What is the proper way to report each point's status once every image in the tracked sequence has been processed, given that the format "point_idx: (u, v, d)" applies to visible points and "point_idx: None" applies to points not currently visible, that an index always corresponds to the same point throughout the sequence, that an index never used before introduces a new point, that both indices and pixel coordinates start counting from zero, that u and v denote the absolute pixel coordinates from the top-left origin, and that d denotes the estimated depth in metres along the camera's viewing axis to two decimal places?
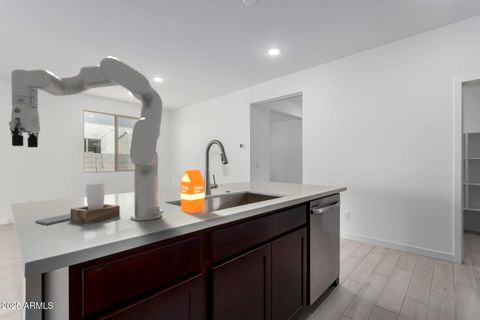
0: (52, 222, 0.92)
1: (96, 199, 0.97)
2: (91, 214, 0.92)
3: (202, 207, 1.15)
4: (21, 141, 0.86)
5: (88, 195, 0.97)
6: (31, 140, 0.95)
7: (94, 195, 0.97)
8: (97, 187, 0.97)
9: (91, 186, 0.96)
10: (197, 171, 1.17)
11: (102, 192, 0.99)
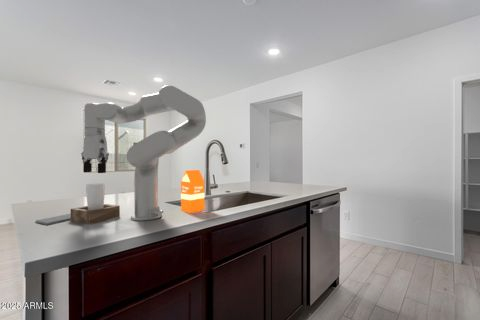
0: (52, 222, 0.92)
1: (96, 199, 0.97)
2: (91, 214, 0.92)
3: (202, 207, 1.15)
4: (105, 168, 0.98)
5: (88, 195, 0.97)
6: (87, 165, 1.01)
7: (94, 195, 0.97)
8: (97, 187, 0.97)
9: (91, 186, 0.96)
10: (197, 171, 1.17)
11: (102, 192, 0.99)
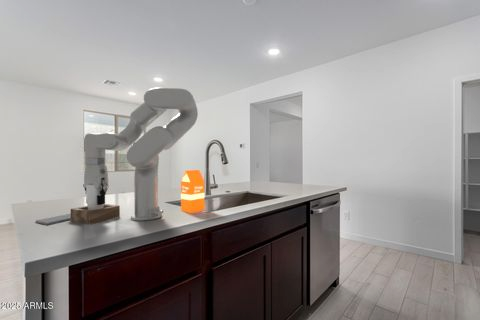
0: (52, 222, 0.92)
1: (96, 199, 0.97)
2: (91, 214, 0.92)
3: (202, 207, 1.15)
4: (104, 200, 0.99)
5: (88, 195, 0.97)
6: None
7: (94, 195, 0.97)
8: None
9: (91, 186, 0.96)
10: (197, 171, 1.17)
11: None
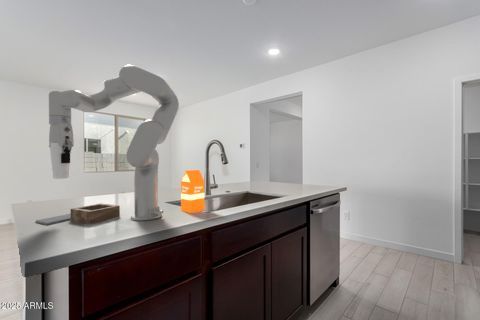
0: (52, 222, 0.92)
1: (60, 157, 0.96)
2: (91, 214, 0.92)
3: (202, 207, 1.15)
4: (69, 159, 0.98)
5: (52, 153, 0.96)
6: None
7: (58, 153, 0.96)
8: None
9: (55, 144, 0.95)
10: (197, 171, 1.17)
11: None
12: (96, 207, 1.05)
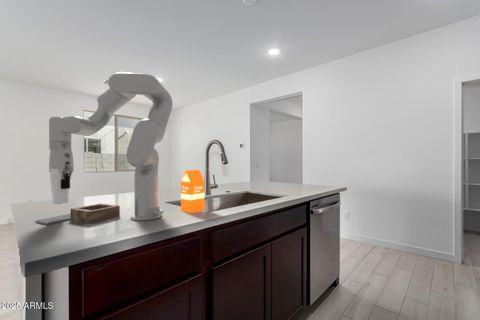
0: (52, 222, 0.92)
1: (60, 183, 0.96)
2: (91, 214, 0.92)
3: (202, 207, 1.15)
4: (69, 184, 0.98)
5: (52, 179, 0.96)
6: None
7: (58, 179, 0.96)
8: None
9: (55, 170, 0.95)
10: (197, 171, 1.17)
11: None
12: (96, 207, 1.05)
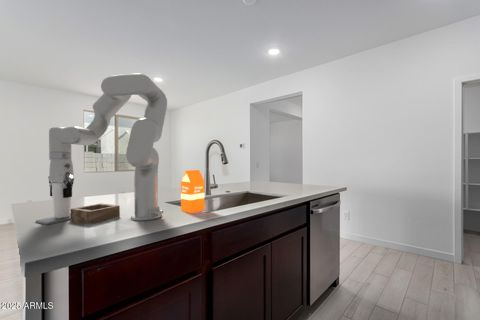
0: (52, 222, 0.92)
1: (61, 197, 0.97)
2: (91, 214, 0.92)
3: (202, 207, 1.15)
4: (71, 193, 0.98)
5: (53, 193, 0.96)
6: None
7: (59, 193, 0.96)
8: (63, 186, 0.97)
9: (56, 184, 0.96)
10: (197, 171, 1.17)
11: None
12: (96, 207, 1.05)
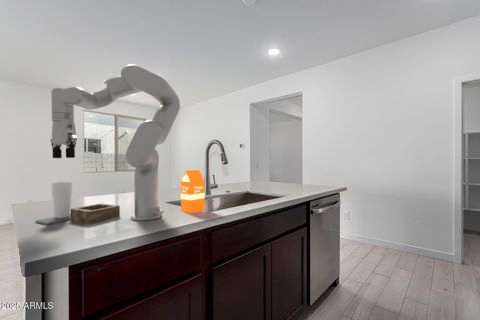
0: (52, 222, 0.92)
1: (61, 197, 0.97)
2: (91, 214, 0.92)
3: (202, 207, 1.15)
4: (74, 153, 0.99)
5: (53, 193, 0.96)
6: (57, 151, 1.01)
7: (59, 193, 0.96)
8: (63, 186, 0.97)
9: (56, 184, 0.96)
10: (197, 171, 1.17)
11: (68, 190, 0.98)
12: (96, 207, 1.05)
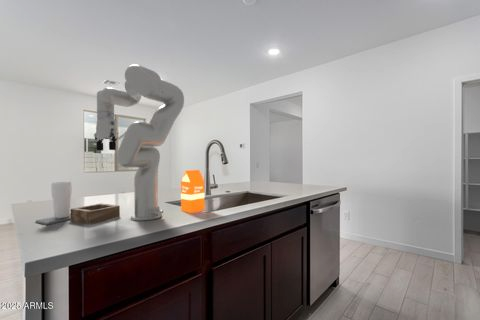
0: (52, 222, 0.92)
1: (61, 197, 0.97)
2: (91, 214, 0.92)
3: (202, 207, 1.15)
4: (115, 146, 1.15)
5: (53, 193, 0.96)
6: (100, 144, 1.18)
7: (59, 193, 0.96)
8: (62, 186, 0.97)
9: (56, 184, 0.96)
10: (197, 171, 1.17)
11: (68, 190, 0.98)
12: (96, 207, 1.05)
